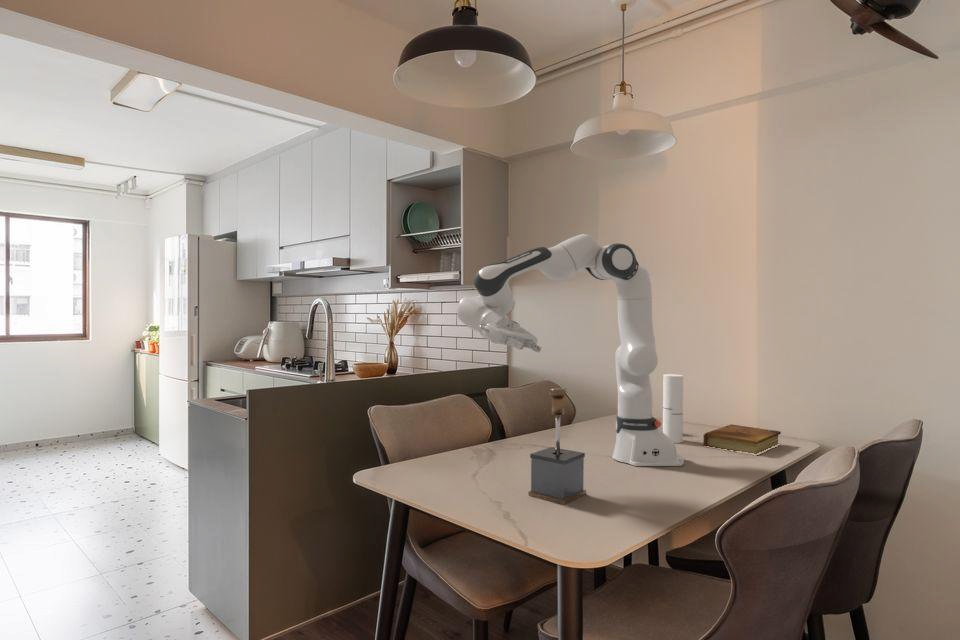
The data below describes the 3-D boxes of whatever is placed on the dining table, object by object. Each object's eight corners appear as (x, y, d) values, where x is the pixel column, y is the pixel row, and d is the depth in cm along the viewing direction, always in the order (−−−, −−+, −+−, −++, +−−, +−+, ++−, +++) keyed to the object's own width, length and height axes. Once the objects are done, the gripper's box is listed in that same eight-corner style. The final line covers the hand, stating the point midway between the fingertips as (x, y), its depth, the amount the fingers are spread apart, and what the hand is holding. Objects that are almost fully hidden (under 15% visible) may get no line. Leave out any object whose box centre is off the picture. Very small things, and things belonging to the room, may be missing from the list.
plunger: (552, 455, 157) (553, 386, 156) (578, 460, 152) (579, 389, 151) (536, 461, 150) (537, 389, 150) (562, 466, 145) (563, 392, 145)
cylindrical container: (666, 438, 220) (666, 373, 220) (684, 440, 216) (685, 375, 216) (660, 441, 215) (660, 375, 214) (679, 444, 210) (680, 376, 210)
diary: (729, 438, 223) (729, 424, 223) (780, 447, 210) (780, 431, 210) (703, 447, 207) (703, 431, 207) (757, 457, 194) (757, 440, 194)
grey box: (550, 485, 159) (551, 446, 159) (585, 494, 152) (586, 453, 152) (528, 495, 150) (528, 454, 150) (564, 504, 143) (564, 461, 143)
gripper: (480, 314, 165) (515, 335, 156) (519, 323, 181) (553, 342, 173) (472, 333, 166) (505, 355, 158) (511, 340, 182) (544, 360, 174)
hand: (530, 348), depth 165 cm, fingers open, 8 cm apart
